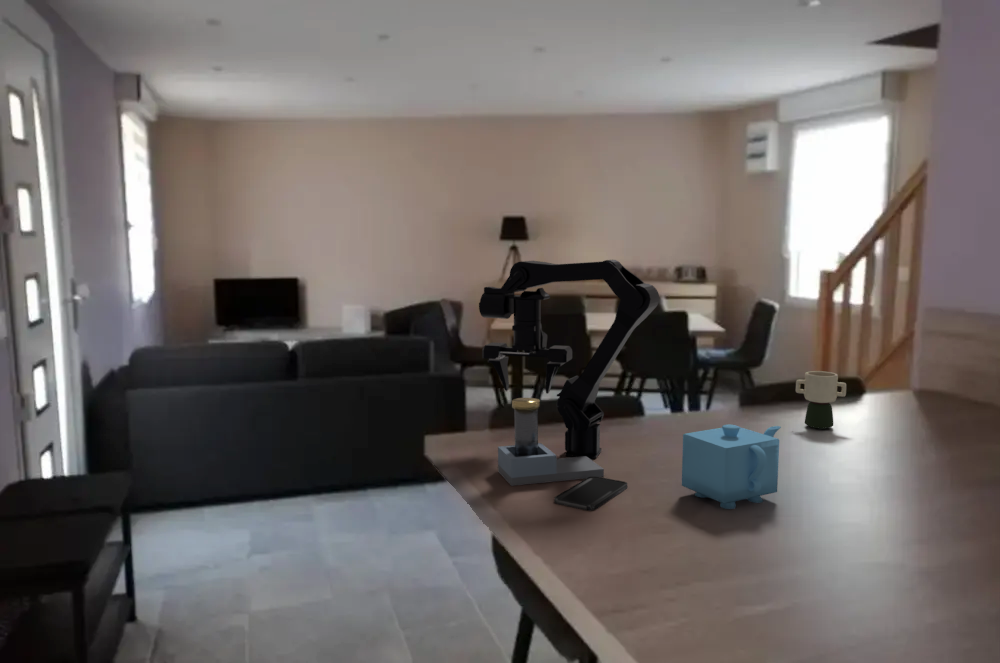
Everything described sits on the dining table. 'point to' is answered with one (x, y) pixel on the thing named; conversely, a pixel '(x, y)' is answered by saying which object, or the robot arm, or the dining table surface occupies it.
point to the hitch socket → (543, 467)
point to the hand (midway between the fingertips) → (527, 391)
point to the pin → (526, 426)
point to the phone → (590, 493)
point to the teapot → (731, 464)
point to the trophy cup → (820, 397)
